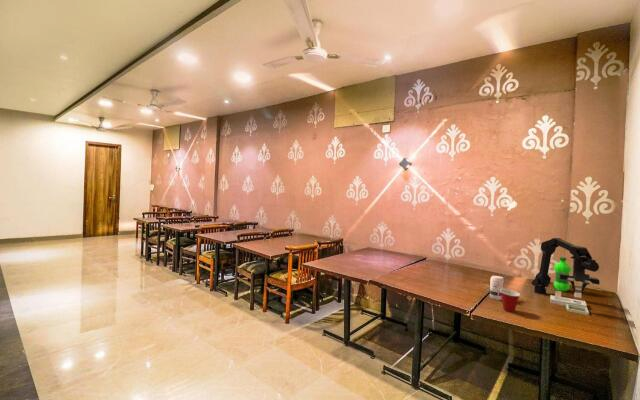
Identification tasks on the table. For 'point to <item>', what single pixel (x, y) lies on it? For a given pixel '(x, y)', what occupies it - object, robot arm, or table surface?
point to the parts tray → (577, 308)
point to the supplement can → (496, 287)
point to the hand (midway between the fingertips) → (577, 292)
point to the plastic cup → (509, 299)
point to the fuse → (557, 295)
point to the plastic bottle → (562, 268)
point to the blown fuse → (578, 292)
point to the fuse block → (567, 301)
